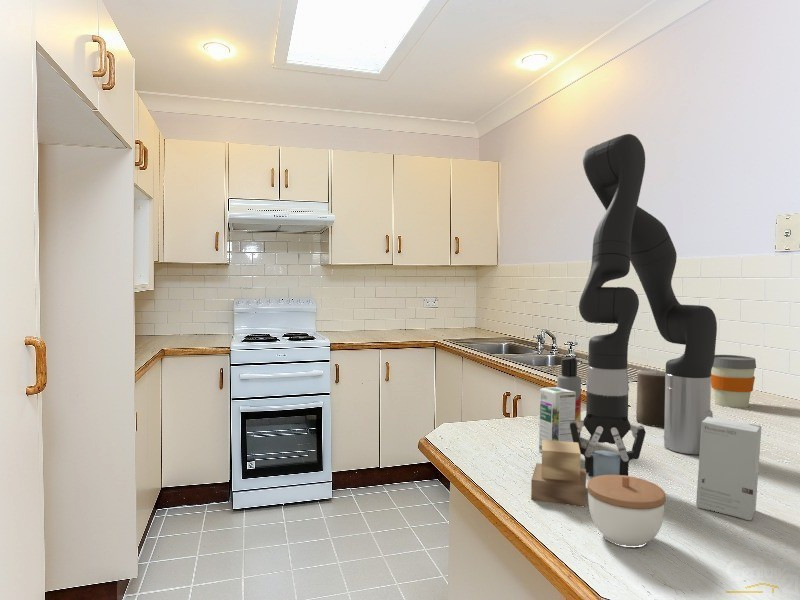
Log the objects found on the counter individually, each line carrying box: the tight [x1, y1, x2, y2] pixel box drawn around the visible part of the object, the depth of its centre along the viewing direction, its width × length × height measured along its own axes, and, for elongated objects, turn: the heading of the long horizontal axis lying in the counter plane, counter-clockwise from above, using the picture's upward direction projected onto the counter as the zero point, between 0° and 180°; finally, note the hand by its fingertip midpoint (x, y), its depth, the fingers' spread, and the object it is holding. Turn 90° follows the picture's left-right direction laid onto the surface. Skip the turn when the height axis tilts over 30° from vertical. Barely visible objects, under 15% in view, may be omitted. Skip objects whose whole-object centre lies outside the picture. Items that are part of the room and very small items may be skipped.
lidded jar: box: [586, 475, 666, 546], centre depth 78 cm, size 11×11×9 cm
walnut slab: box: [530, 462, 587, 508], centre depth 95 cm, size 9×9×4 cm
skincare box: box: [695, 416, 762, 521], centre depth 88 cm, size 8×6×15 cm
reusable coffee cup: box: [711, 354, 757, 409], centre depth 165 cm, size 12×13×15 cm
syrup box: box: [538, 386, 576, 453], centre depth 117 cm, size 6×6×14 cm
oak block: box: [541, 440, 582, 482], centre depth 95 cm, size 6×6×5 cm
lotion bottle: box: [556, 356, 582, 437], centre depth 129 cm, size 6×6×20 cm
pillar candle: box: [635, 367, 666, 428], centre depth 144 cm, size 10×10×15 cm
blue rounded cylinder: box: [591, 449, 621, 478], centre depth 102 cm, size 5×5×5 cm
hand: (605, 476), depth 102 cm, fingers closed on blue rounded cylinder, 5 cm apart
